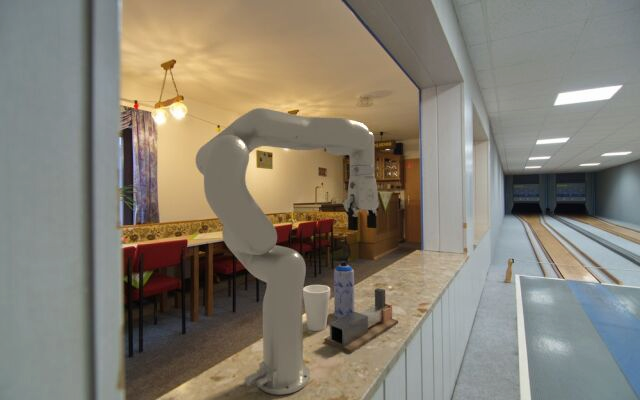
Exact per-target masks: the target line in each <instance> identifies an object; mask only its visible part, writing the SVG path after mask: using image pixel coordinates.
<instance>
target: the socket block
mask: <svg viewBox="0 0 640 400" xmlns="http://www.w3.org/2000/svg"><path fill="white" fill-rule="evenodd" d="M374 306H375V304H374V305H372V306H371V307H370V308H372V307H374ZM385 306H388V308H387V309H385V310H383V320H381V321H380V322H383V323H386V322H387V321H389V320H391V319H393V304H392V303H387V302H385Z"/></svg>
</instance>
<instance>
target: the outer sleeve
mask: <svg viewBox="0 0 640 400" xmlns="http://www.w3.org/2000/svg"><path fill="white" fill-rule="evenodd" d="M360 313H361V312H360ZM360 313H359V312H357V311H354V312H352V313H350V314H348V315H346V316H343V317H341V318H337V319H335V320H333V321H330V322H329V336H330V341H331V342H334V343H336V344H338V345H340V346H343V347H345V346H347V345H349V344H350V343H352V342H354V341H355V340H357V339H359V338H360V337H362V336H364V335H365V334H367V333H368V316H367V315H363V314H360Z"/></svg>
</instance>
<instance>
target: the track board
mask: <svg viewBox="0 0 640 400" xmlns="http://www.w3.org/2000/svg"><path fill="white" fill-rule="evenodd" d="M398 324H399V320H398V319H395V318H392V319H391V320H389V321H387V322H386V323H383V322H380V321H379V322H378V323H376V324H374V325H372V326H371V327H369V328H368V333H367V334H365V335H364V336H362V337H360V338H359V339H357V340H355V341H354V342H352V343H350V344H349V345H347V346H345V347H343V346H340V345H338V344H336V343H334V342H331V341H330V335H329V336H326V337H325V338H324V339H323V340H324V341H323V342H325V343H327V344H328V345H331V346H333V347H335V348H337V349H340V350H342V351H343V352H346V353H348V354H352V353H354V352H355V351H357V350H358V349H360V348H361V347H363V346H365V345H366V344H368V343H369V342H371V341H373V340H374V339H376V338H378V337H379V336H381V335H382V334H384V333H385V332H387V331H389V330H390V329H391V328H393V327H395V326H396V325H398Z"/></svg>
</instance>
